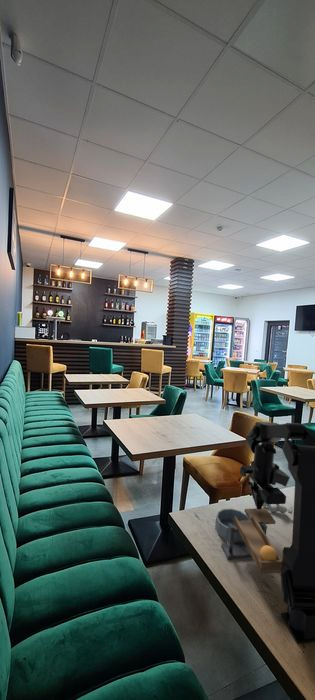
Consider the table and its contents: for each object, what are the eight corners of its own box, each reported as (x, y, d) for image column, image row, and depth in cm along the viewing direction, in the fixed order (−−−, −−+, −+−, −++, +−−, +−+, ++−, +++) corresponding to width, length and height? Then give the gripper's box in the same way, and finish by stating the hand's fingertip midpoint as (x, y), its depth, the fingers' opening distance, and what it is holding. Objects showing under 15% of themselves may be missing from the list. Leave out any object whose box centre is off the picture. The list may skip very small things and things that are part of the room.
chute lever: (308, 570, 78) (310, 559, 78) (256, 574, 76) (258, 563, 75) (265, 510, 100) (266, 501, 99) (224, 512, 97) (225, 502, 97)
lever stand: (269, 556, 89) (272, 529, 88) (227, 559, 87) (230, 531, 86) (261, 544, 94) (264, 518, 93) (221, 546, 92) (223, 520, 91)
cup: (256, 541, 95) (258, 529, 95) (223, 543, 93) (224, 531, 93) (241, 519, 106) (242, 508, 105) (210, 520, 104) (211, 509, 104)
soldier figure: (259, 503, 118) (293, 503, 113) (260, 517, 115) (295, 517, 110) (254, 495, 113) (288, 494, 108) (255, 509, 110) (290, 509, 105)
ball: (277, 567, 78) (281, 557, 76) (262, 568, 77) (266, 557, 76) (269, 551, 81) (273, 541, 80) (255, 552, 81) (259, 542, 79)
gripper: (305, 476, 89) (299, 527, 90) (271, 449, 107) (267, 491, 108) (269, 476, 87) (264, 528, 88) (241, 449, 105) (237, 492, 106)
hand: (258, 508), depth 98 cm, fingers closed
